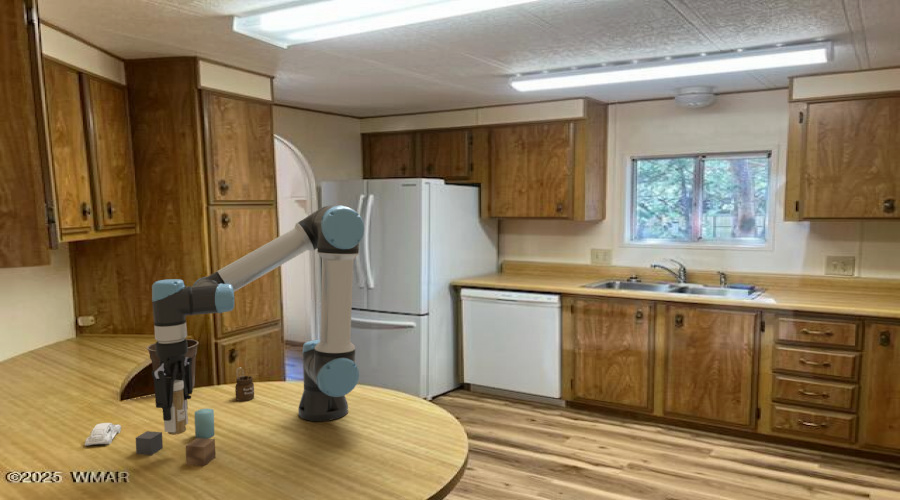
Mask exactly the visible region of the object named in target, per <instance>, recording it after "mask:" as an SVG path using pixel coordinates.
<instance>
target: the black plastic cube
mask: <svg viewBox="0 0 900 500" xmlns="http://www.w3.org/2000/svg"><path fill="white" fill-rule="evenodd" d="M163 445H164V444H163V432H161V431H152V430H151V431H149V430H146V431H145V432H143V433H141V434H140V435H138V436H136V437H135V452H136V455H141V456H142V455H144V456H145V455H146V456H153V455H154V454H156V453H158V452H159V451H161V450H162V449H164V448H163V447H164V446H163Z"/></svg>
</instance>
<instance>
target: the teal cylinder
mask: <svg viewBox="0 0 900 500" xmlns="http://www.w3.org/2000/svg"><path fill="white" fill-rule="evenodd" d="M194 430H195V431H194V436H195V439H196V438H204V439H212V438H213V437H214V436H215V435H216V433H215V413H214V409H213V408H201V409H197V410H195V411H194Z"/></svg>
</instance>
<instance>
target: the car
mask: <svg viewBox="0 0 900 500" xmlns="http://www.w3.org/2000/svg"><path fill="white" fill-rule="evenodd" d="M121 429H122V425H120V424H119V423H118V424H113V423H112V422H102V423H97V424H96V425H95V426H94V427H93V428H92V430H91V432H90V435H89V436H88V437H86V439H85V441H84V446H86V447H89V446H92V445H108V444H109V445H111V444H112V442H113V439H114V438H115V437H116V435H117V434H120V433H121ZM110 443H111V444H110ZM109 445H108V446H109Z"/></svg>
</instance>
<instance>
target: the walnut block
mask: <svg viewBox="0 0 900 500" xmlns="http://www.w3.org/2000/svg"><path fill="white" fill-rule="evenodd" d="M214 459H216V439H215V438H214V439H213V438H208V439H204V438H196V437H195V439H193V440H192V441H191V442H188V443H187V444H186V445H185V464H186V465H188V466H196V467H199V466H200V467H205V466H207V465H208V464H209V463H210V462H212V461H213V460H214Z"/></svg>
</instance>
